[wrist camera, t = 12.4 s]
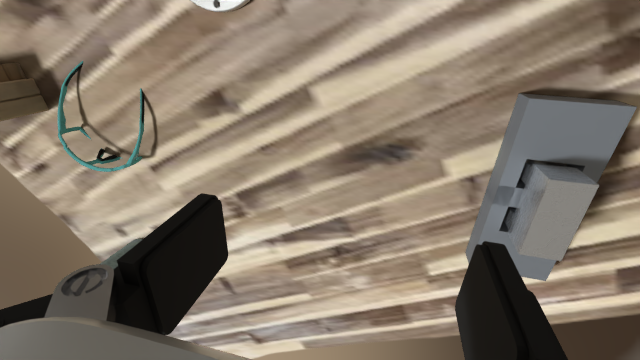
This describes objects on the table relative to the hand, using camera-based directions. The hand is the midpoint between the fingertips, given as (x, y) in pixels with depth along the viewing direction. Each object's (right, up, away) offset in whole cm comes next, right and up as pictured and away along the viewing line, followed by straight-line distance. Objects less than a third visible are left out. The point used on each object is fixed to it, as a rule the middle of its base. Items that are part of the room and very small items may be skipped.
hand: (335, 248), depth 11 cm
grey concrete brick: (+25, +1, +25) cm, 35 cm away
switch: (+25, +1, +25) cm, 35 cm away
